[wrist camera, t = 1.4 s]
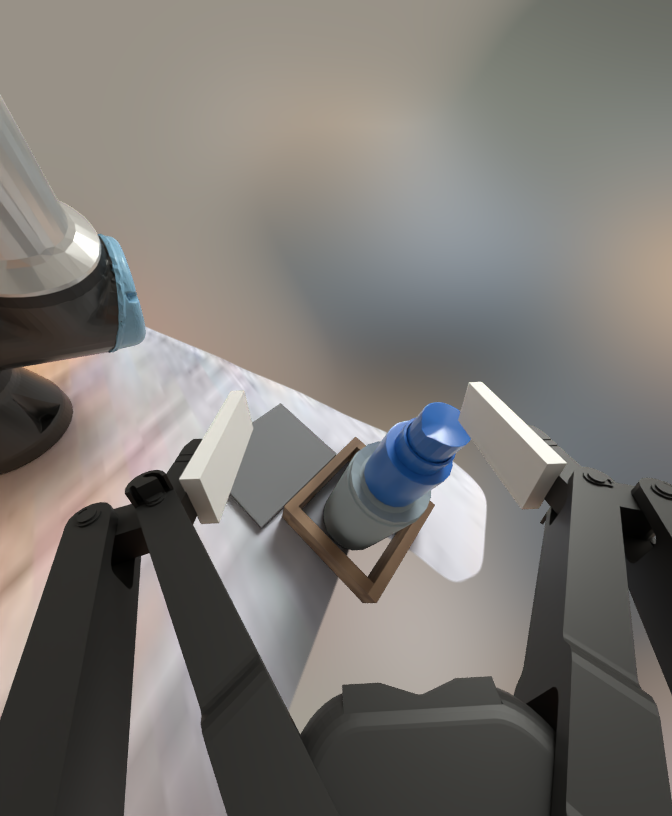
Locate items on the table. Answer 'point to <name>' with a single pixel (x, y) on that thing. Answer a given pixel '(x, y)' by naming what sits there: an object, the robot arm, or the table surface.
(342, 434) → the table surface
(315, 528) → the walnut collar
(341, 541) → the spray bottle
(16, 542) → the table surface
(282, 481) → the rubber mat
